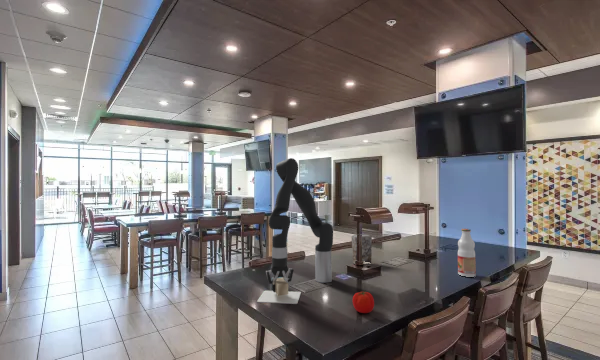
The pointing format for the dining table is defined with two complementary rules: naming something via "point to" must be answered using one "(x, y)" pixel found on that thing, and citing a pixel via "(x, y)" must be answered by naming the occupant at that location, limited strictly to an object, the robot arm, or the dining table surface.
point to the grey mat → (279, 297)
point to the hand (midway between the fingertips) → (279, 290)
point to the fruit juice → (466, 255)
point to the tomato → (363, 302)
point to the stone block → (365, 248)
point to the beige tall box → (281, 286)
